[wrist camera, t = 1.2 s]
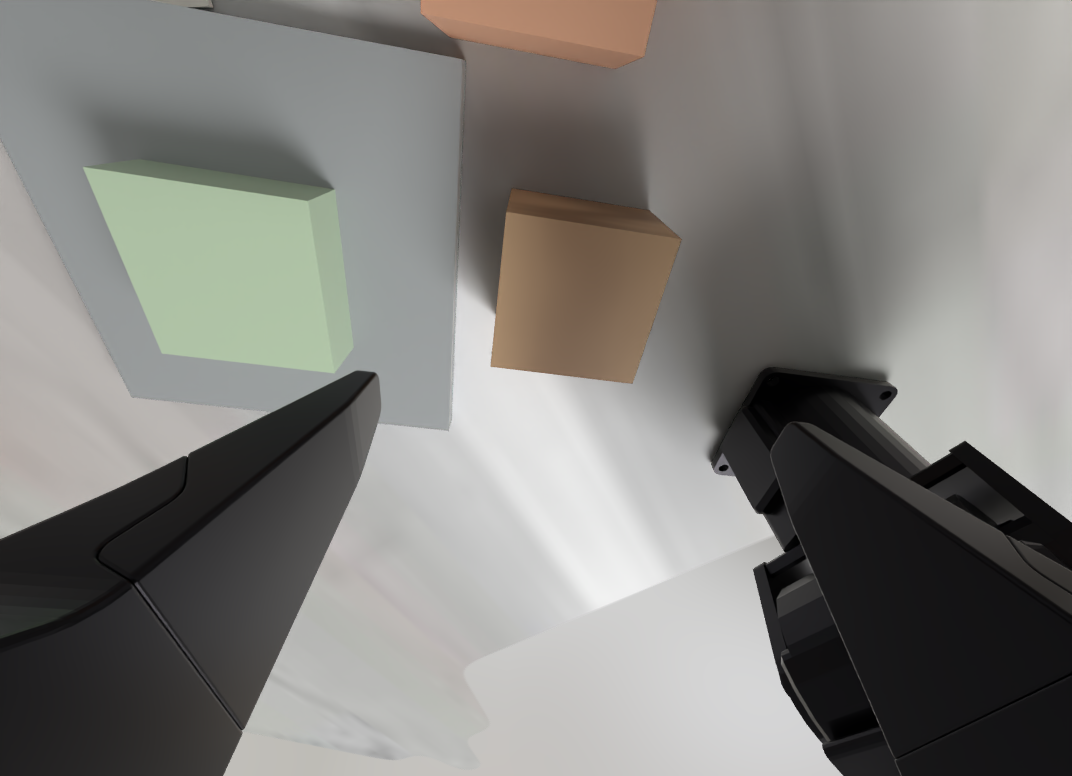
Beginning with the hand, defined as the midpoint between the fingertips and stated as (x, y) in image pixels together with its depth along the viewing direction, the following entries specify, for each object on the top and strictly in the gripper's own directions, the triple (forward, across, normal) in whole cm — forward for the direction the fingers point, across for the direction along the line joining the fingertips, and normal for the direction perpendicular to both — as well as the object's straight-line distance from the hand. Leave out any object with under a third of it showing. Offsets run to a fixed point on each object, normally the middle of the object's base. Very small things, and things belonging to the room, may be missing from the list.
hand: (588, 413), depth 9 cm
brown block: (+9, 0, 0) cm, 9 cm away
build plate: (+9, +11, +1) cm, 14 cm away
